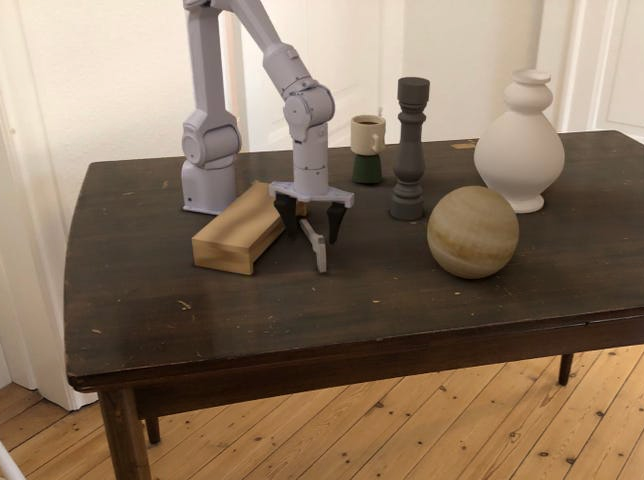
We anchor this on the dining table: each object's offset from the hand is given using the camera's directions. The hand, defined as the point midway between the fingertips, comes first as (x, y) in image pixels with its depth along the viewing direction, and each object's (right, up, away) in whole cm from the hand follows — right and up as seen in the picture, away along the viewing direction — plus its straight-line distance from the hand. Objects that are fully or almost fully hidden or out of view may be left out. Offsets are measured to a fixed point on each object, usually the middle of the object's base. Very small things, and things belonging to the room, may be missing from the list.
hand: (312, 239), depth 130 cm
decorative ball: (+27, -7, -4) cm, 28 cm away
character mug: (+8, +17, +27) cm, 33 cm away
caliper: (0, -2, +1) cm, 2 cm away
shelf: (-11, +1, +3) cm, 11 cm away
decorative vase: (+39, +11, +22) cm, 46 cm away
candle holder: (+17, +7, +15) cm, 23 cm away
